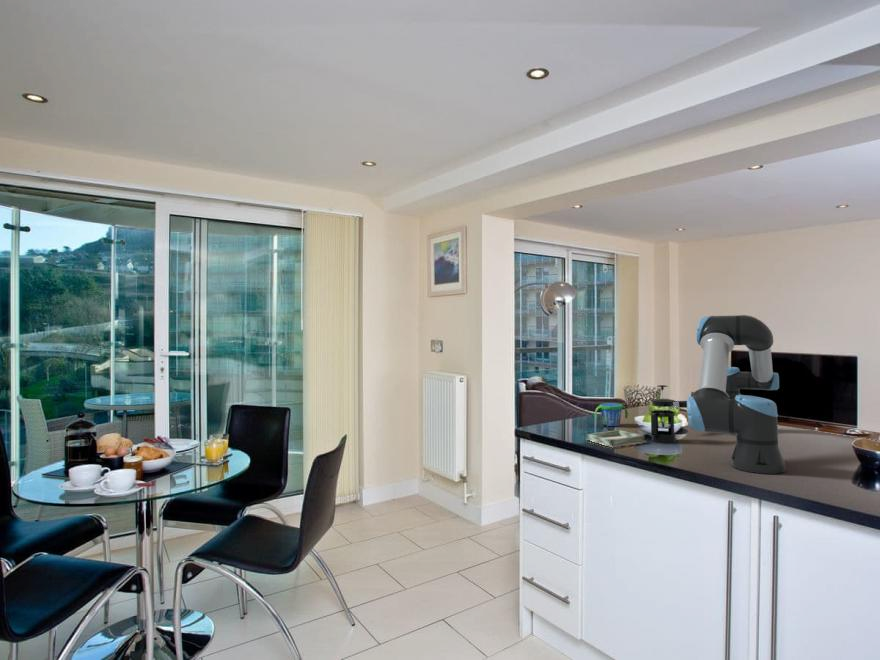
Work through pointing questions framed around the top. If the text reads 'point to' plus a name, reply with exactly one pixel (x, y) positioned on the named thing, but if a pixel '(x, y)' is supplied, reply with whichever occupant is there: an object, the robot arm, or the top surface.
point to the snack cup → (611, 413)
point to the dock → (616, 438)
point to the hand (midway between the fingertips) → (680, 408)
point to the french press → (663, 435)
